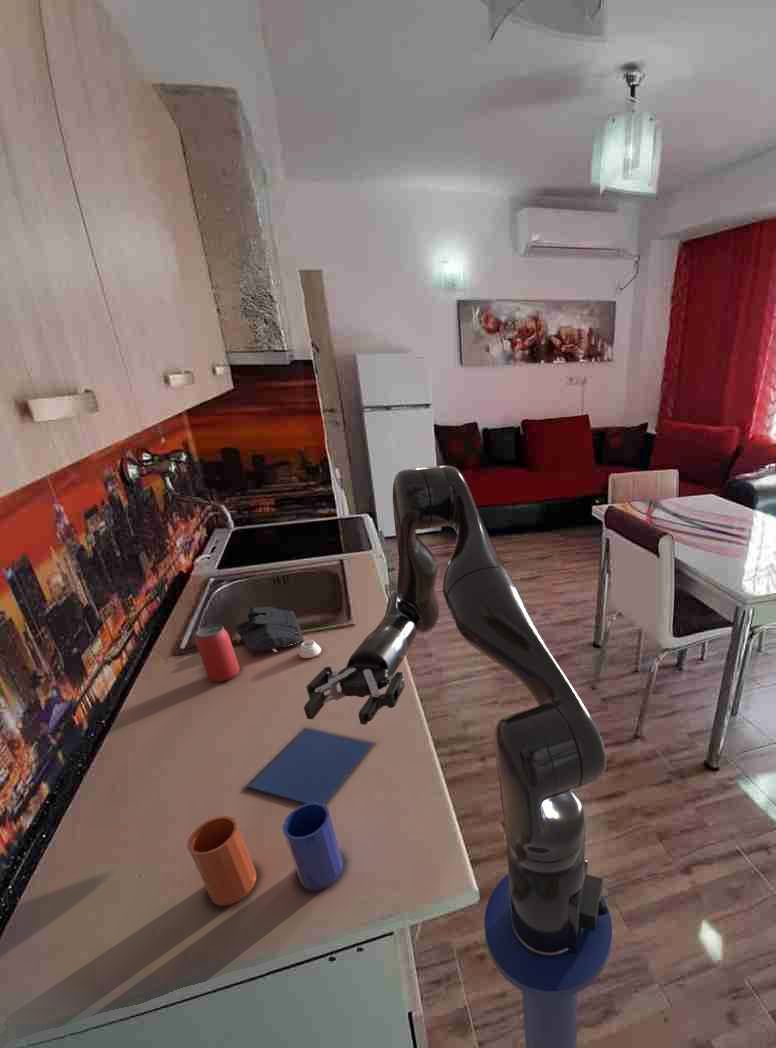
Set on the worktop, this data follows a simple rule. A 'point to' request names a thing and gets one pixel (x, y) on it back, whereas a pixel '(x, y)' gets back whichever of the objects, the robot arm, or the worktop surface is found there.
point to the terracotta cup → (222, 860)
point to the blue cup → (313, 845)
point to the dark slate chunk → (269, 629)
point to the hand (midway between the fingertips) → (334, 717)
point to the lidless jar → (309, 649)
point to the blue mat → (311, 767)
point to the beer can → (217, 653)
